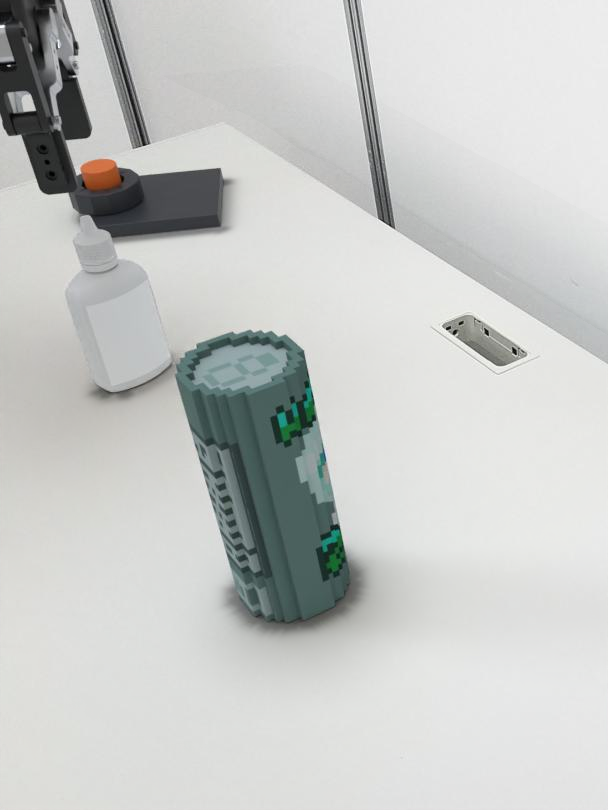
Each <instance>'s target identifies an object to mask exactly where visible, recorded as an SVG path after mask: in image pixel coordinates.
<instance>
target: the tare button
mask: <svg viewBox="0 0 608 810" xmlns="http://www.w3.org/2000/svg"><path fill="white" fill-rule="evenodd" d="M79 170H80V174H81V173H82V176H83V180H84V183H85V186H86V189H89V190H106V189H110V188H113V187H116V186H118V185H119V184H121V183H122V181H121V178H120V174H119V171H118V164H117V162H116V160H113V159H111V158H97V159H93V160H89V161H86V162H84V163H83V164H81V166H80V168H79Z"/></svg>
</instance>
